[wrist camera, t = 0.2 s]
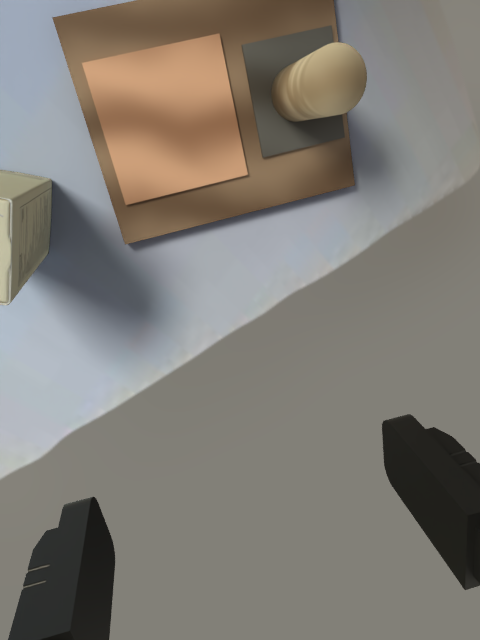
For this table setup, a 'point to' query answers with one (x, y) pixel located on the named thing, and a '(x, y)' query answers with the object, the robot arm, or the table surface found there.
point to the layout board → (213, 105)
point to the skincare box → (22, 229)
